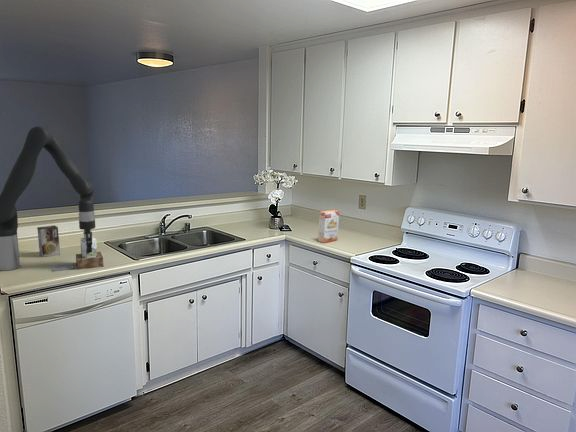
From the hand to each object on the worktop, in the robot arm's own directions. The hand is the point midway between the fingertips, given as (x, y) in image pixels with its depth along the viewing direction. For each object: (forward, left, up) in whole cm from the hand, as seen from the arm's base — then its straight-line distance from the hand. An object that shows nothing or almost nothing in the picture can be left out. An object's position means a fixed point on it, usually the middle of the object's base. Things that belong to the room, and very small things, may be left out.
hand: (88, 250), depth 217 cm
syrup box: (0, 0, -8) cm, 8 cm away
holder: (0, 0, -8) cm, 8 cm away
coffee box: (-18, +30, -8) cm, 36 cm away
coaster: (-13, 0, -8) cm, 15 cm away
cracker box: (+148, -8, -8) cm, 148 cm away
